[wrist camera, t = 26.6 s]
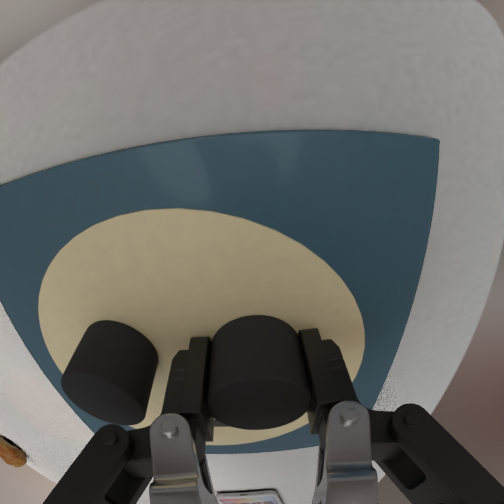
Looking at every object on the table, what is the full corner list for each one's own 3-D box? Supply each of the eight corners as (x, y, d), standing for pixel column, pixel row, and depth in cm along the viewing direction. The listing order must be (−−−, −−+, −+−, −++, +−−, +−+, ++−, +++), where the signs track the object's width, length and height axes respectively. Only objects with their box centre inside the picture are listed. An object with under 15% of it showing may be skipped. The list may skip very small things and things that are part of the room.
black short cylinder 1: (73, 318, 10) (44, 367, 8) (145, 319, 10) (123, 377, 8) (103, 372, 12) (85, 419, 9) (168, 376, 12) (157, 430, 9)
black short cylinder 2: (204, 317, 10) (195, 380, 8) (300, 309, 10) (317, 371, 8) (218, 376, 12) (215, 432, 9) (297, 370, 12) (308, 425, 9)
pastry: (-7, 428, 23) (-14, 444, 19) (26, 450, 25) (20, 467, 21) (-1, 440, 26) (-6, 454, 22) (28, 459, 28) (24, 474, 24)
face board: (-29, 197, 8) (-39, 203, 7) (431, 137, 8) (443, 140, 8) (104, 436, 17) (102, 444, 17) (355, 431, 17) (358, 439, 17)
